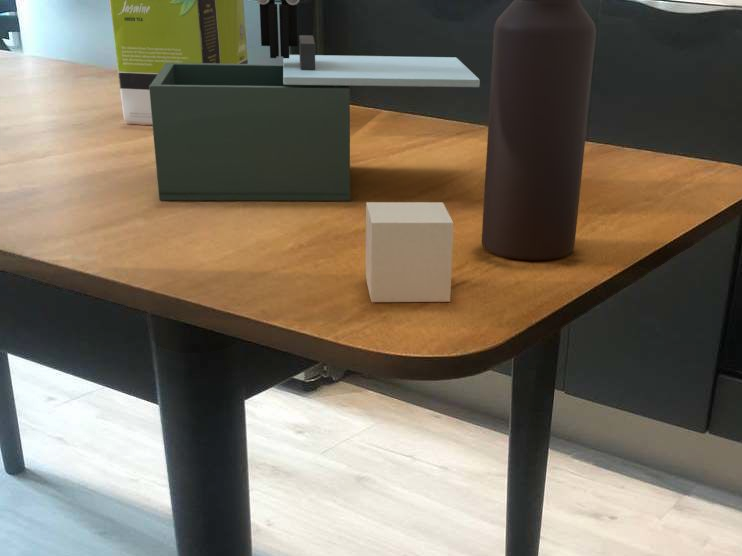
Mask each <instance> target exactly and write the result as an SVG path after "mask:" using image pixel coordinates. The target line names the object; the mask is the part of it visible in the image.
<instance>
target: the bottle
mask: <svg viewBox="0 0 742 556" xmlns="http://www.w3.org/2000/svg"><path fill="white" fill-rule="evenodd" d="M493 26H494V27H493V40H492V55H491V56H492V58H491V74H490V75H491V77H490V89H489V90H490V91H489V105H488V107H489V108H488V109H489V110H488V125H487V140H486V141H487V142H486V143H487V144H486V161H485V174H484V175H485V177H484V178H485V179H484V191H483V192H484V193H483V208H482V209H483V211H482V225H481V226H482V227H481V228H482V229H481V245H482V247H483V248H484V249H485V250H486V251H487V252H488V253H490V254H493V255H494V256H498V257H501V258H505V259H511V260H517V261H518V260H519V261H531V262H532V261H533V262H535V261H536V262H537V261H539V262H540V261H552V260H557V259H562V258H564V257H567V256H568V255H569V254H571V253H572V252H573V251H574V249H575V246H576V245H575V244H576V236H577V233H576V232H577V225H578V215H579V207H580V205H579V204H580V196H581V186H582V175H583V167H584V166H583V165H584V157H585V155H584V154H585V147H586V146H585V145H586V136H587V128H588V127H587V126H588V118H589V116H588V115H589V107H590V97H591V89H592V86H591V85H592V77H593V69H594V60H595V49H596V39H597V27H596V24H595V22H594V21H593V19H592V18H591V16H590V15H589V13H588V12H587V10H586V9H585V7H584V6H583V4H582V3H581V0H513V1H512V2H511V3H510V4H509V6H508V7H507V8H506V9H505V10H504V11H503V12H502V13H501V14H500V15H499V16H498V18H497V19H496V21H495V23H494V25H493Z"/></svg>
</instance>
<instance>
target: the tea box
mask: <svg viewBox="0 0 742 556" xmlns="http://www.w3.org/2000/svg"><path fill="white" fill-rule="evenodd" d="M108 1H109V9H110V15H111V22H112V34H113V35H112V36H113V41H114V48H115V55H116V68H117V75H118V82H119V90H120V91H119V92H120V99H121V101H120V102H121V108H122V115H123V121H124V123H126V124H127V125H139V126H153V125H152V114H151V103H150V91H149V86H150V85H151V83H152V82H153V80H154V79H155V77H156V76H157V75H158V73H159V72H160V70H161V69H162V68H163V66H164V65H165V63H223V64H249V62H248V61H249V60H248V47H247V45H248V43H247V34H246V33H247V32H246V19H245V5H244V3H245V2H244V0H108Z"/></svg>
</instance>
